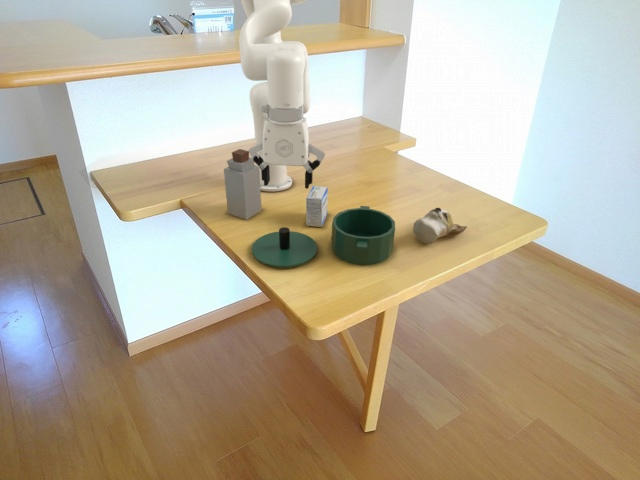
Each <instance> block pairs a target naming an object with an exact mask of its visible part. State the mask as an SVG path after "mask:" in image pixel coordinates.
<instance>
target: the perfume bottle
mask: <svg viewBox="0 0 640 480" xmlns="http://www.w3.org/2000/svg"><path fill="white" fill-rule="evenodd" d="M231 156H232V158H230V159H228V160H226V163H227V165H228V166H227V167H225V168H223V174H224V175H223V177H224V186H225V198H226V207H227V214H228V215H232V216H235V217H238V218H240V219H243V220H248V219H250V218H252V217H253V216H255V215H256V214H258V213H259V212H262V195H261V190H260V173H259V166H257V165H255V162H254V161H253V158H252V157H251V156H250V153H249V150H246V149H242V148H238V149H235V150H234V151H232V152H231Z"/></svg>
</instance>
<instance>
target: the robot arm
mask: <svg viewBox="0 0 640 480" xmlns="http://www.w3.org/2000/svg"><path fill="white" fill-rule="evenodd" d="M307 1H308V0H240V3H241V6H242V8H243V11H244V13H245V16H246V18H247V19H245V21H244V23H243V25H242V26H241V28H240V32H239V37H238V40H239V42H238V48H239V56H240V66H241V71H242V74H243V75H244V76H245V78H246V79H247V80H250V81H252V82H253V81H254V82H258V83H256V84H254V85H252V87H251V88H250V90H249V103H250V107H251V112H252V113H251V114H252V119H253V128H254V129H253V130H254V145H253V146H250V147H249V149H248V151H249V156H250V158H253V161H254V164H256V166H259V173H260V191H262V192H270V193H271V192H272V193H273V192H275V193H276V192H281V191H284V190H288V189H289V188H290V187H292V185H293V178H291V176H289V175H288V166H289V167H303V168H304V169H305V171H304V188H305V189H307V190H308V189H309V187H310V185H312V184H313V178H314V177H313V172H314V170H316V169H317V168H319V166H320V164H321V163H322V161H323V160H324V158H325V155H326V152H324V151H323V150H321V149H320V148H317V147H316V146H314V145H312V144H310V136H309V135H310V134H309V127H308V121H307V118H306V117H305V116H304V115H306V114H307V113H308V112H309V110H310V107H311V92H310V90H311V89H310V64H309V63H310V62H309V54H308V49H307V47H306V45H305V44H304V43H303V42H301V41H299V40H298V41H297V40H282V33H281V31H282V30H284V29H286V28H287V26H288V25H290V23H291V20H292V17H293V10H292V6H297V5H298V6H299V5H301V4H303V3H306V2H307ZM259 81H261V82H259ZM310 154H312V155H313V156H316V159H315V160H314V161H312V160H311V159H310Z"/></svg>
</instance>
